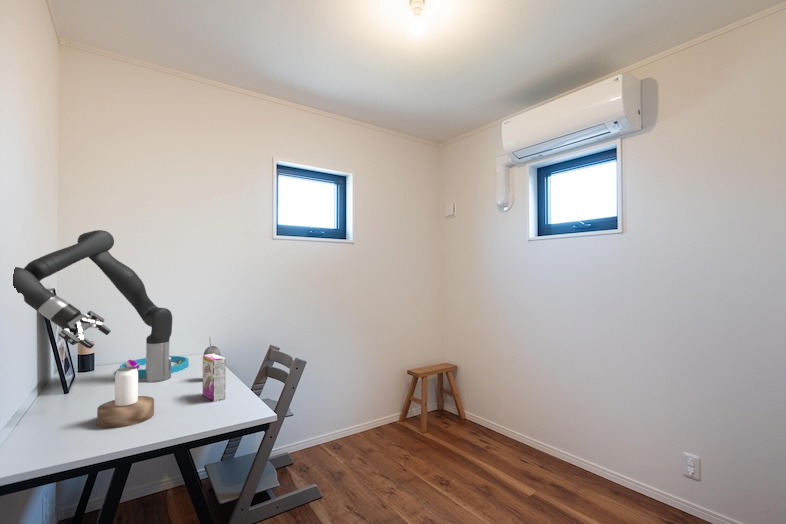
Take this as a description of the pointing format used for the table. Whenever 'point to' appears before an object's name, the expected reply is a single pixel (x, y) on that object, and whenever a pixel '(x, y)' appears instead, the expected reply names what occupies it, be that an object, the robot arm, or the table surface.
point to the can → (126, 386)
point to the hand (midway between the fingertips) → (101, 339)
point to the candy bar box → (214, 377)
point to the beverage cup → (212, 350)
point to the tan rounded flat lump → (125, 413)
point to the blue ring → (181, 364)
